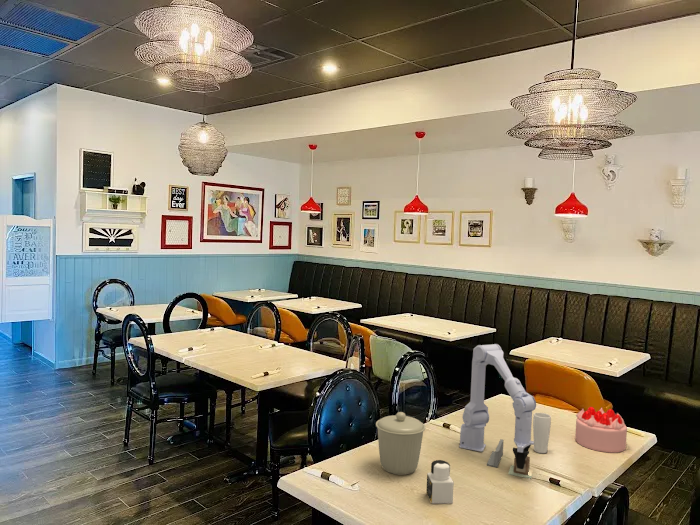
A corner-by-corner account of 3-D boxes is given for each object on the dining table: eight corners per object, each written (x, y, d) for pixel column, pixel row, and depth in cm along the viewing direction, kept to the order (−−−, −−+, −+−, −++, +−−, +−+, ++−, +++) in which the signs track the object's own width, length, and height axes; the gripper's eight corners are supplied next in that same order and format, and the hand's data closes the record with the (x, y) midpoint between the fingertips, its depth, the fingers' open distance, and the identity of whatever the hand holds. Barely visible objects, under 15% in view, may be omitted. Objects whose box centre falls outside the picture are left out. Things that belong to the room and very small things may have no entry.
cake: (620, 457, 214) (622, 422, 213) (568, 444, 226) (570, 411, 225) (629, 443, 230) (631, 411, 229) (580, 432, 242) (582, 401, 241)
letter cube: (513, 472, 195) (514, 458, 195) (515, 467, 200) (515, 453, 199) (527, 475, 193) (528, 461, 193) (529, 470, 197) (529, 456, 197)
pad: (508, 474, 194) (508, 473, 194) (511, 466, 202) (511, 465, 202) (531, 478, 191) (531, 477, 191) (533, 470, 198) (533, 469, 198)
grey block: (486, 465, 201) (487, 449, 201) (492, 452, 214) (493, 437, 214) (497, 467, 200) (498, 451, 199) (502, 454, 212) (503, 439, 212)
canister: (427, 463, 201) (430, 408, 200) (417, 483, 184) (420, 423, 183) (381, 455, 207) (383, 402, 206) (368, 474, 190) (370, 416, 189)
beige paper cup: (550, 455, 213) (552, 418, 212) (532, 453, 214) (534, 416, 214) (547, 449, 220) (549, 413, 219) (530, 447, 221) (532, 411, 220)
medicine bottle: (426, 493, 177) (427, 457, 177) (447, 493, 178) (448, 457, 177) (431, 503, 170) (432, 467, 170) (452, 503, 171) (454, 467, 170)
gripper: (532, 436, 187) (530, 474, 188) (536, 424, 201) (534, 459, 201) (512, 433, 190) (510, 470, 191) (516, 421, 203) (515, 456, 204)
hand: (521, 464), depth 196 cm, fingers open, 6 cm apart
